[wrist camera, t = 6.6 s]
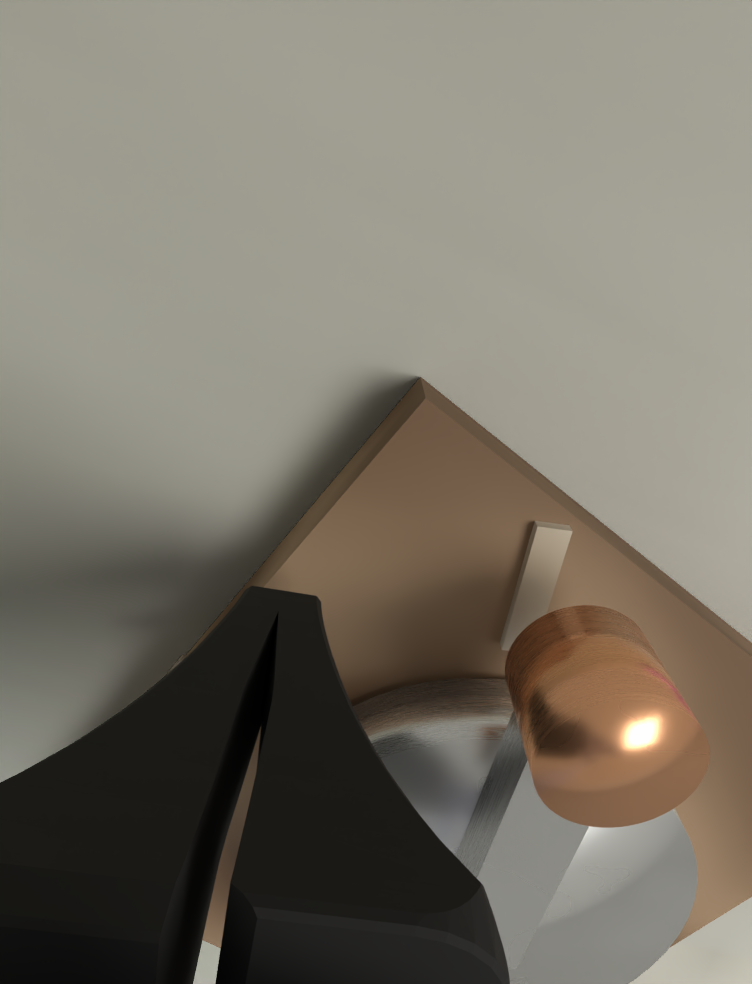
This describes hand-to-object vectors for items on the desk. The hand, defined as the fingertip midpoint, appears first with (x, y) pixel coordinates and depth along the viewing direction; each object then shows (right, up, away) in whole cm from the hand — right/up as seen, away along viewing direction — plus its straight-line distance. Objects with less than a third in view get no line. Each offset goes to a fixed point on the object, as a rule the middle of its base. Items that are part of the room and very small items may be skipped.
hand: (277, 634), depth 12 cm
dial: (+4, -4, +3) cm, 7 cm away
